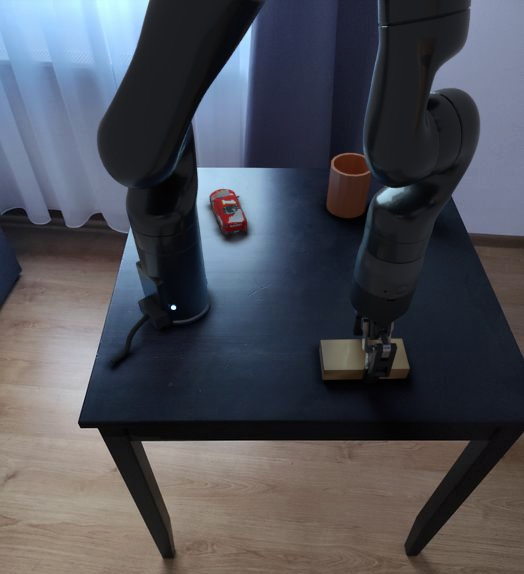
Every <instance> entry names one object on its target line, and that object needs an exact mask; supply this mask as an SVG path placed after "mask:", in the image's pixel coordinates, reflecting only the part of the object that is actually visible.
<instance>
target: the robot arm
mask: <svg viewBox="0 0 524 574" xmlns="http://www.w3.org/2000/svg"><path fill="white" fill-rule="evenodd" d="M266 2H267V0H148V3H147V7H146V10H145V14H144V18H143V22H142V26H141V29H140V34H139V37H138V40H137V43H136V46H135V50H134V52H133V55H132V57H131V59H130V62H129V65H128V67H127V69H126V72H125V74H124V76H123V77H122V80H121V82H120V83H119V86H118V88H117V90H116V92H115V94H114V96H113V97H112V100H111V102H110V104H109V105H108V107H107V108H106V111H105V113H104V114H103V115H102V117H101V119H100V121H99V123H98V126H97V131H96V148H97V153H98V156H99V158H100V161H101V163H102V166H103V168H104V169H105V171H106V172H107V173H108V175H109V176H110V177H111V178H112V179H113V180H114V181H115V182H117V183H118V184H119V185H121V186H123V187H125V188H127V192H126V196H125V211H126V215H127V220H128V222H129V225H130V230H131V233H132V236H133V241H134V244H135V245H134V246H135V248H136V252H137V256H138V259H139V260H137V261H135V267H136V270H137V274H138V278H139V281H140V285H141V288H142V292H143V295H144V297H143V298H140V299H139V300H138V301H137V304H138V307H139V311H140V312H141V313H142V315H143V316H142V317H141V318H140V319H139V320H138V321H137V322H136V324H134V326H133V327H132V328H131V329H130V331H129V333H128V335H127V337H126V340H125V346H124V347H123V349H122V351H120V353H119V354H117V355H115V356H114V357H113V358H111V360H110V362H111V364H113V365H115V364H116V363H118V362H119V361H120V360H122V359H124V358H125V357H126V356H127V354H128V353H129V351H131V347H132V343H133V339H134V337H135V335H136V333H137V332H138V331H139V329H140V328H141V327H142V326H143V325H144V324H145V323H146V322H147V321H149V322H150V323H151V325H152V326H153V327H154V328H155V329H156V330H157V331H158V330H161V329H162V328H164V327H165V328H166V329H169V328H171V327H173V326H185V325H189V324H192V323H195V322H197V321H198V320H201V318H203V317H204V316H205V315H206V314H207V312H208V311H209V309H210V306H211V299H210V293H209V289H208V288H209V287H208V279H207V273H206V266H205V258H204V257H205V256H204V250H203V241H202V234H201V227H200V226H201V225H200V219H199V212H198V193H199V173H198V161H197V151H196V141H195V131H194V126H193V125H194V124H193V119H194V117H195V115H196V112H197V110H198V108H199V106H200V104H201V102H202V101H203V99H204V97H205V95H206V93H207V92H208V91H209V89H210V87H211V86H212V85H213V83H214V82H215V80H216V79H217V77H218V76H219V75H220V73H221V72H222V70H223V69H224V67H225V66H226V64H227V63H228V62H229V60H230V59H231V57H232V56H233V55H234V53H235V51H236V50H237V48H238V47H239V45H240V44H241V43H242V41H243V39H244V37H245V36H246V35H247V33H248V31H249V29H251V27H252V25H253V23H254V22H255V20H256V18H257V17H258V15H259V14H260V12H261V10H262V8H263V7H264V6H265V3H266ZM470 7H472V0H377V24H378V27H377V29H378V30H377V31H378V48H377V53H376V58H375V63H374V66H373V72H372V77H371V82H370V87H369V94H368V98H367V104H366V108H365V114H364V120H363V127H362V153H363V155H364V157H365V161H366V164H367V166H368V168H369V170H370V172H371V174H372V175H373V176H372V178H374V179H375V180H376V181H377V183H379V184H381V185H382V186H383V187H382V188H380V189H379V190H378V191H377V192H376V193H375V194H374V195H373V196H372V198H371V201H370V203H369V206H368V208H367V212H366V213H367V214H366V218H365V224H364V229H363V234H362V239H361V242H360V244H359V247H358V251H357V253H356V259H355V265H354V270H353V275H352V280H351V285H350V290H349V302H350V304H351V306H352V308H354V316H355V320H354V323H353V328H352V333H353V336H356V337H362V339H363V340H362V349H363V350H364V351H365V352H366V363H365V367H364V370H363V374H362V379H361V381H362V383H364V384H377V383H378V382H379V380H380V379H379V377H389V375H390V372H391V369H392V365H393V362H394V359H395V355H396V352H397V344H396V343H391V339H392V332H393V330H394V323H395V321H397V320H398V319H400V318H401V317H403V316H404V315H405V314H407V312H408V310H409V309H410V308H411V304H412V302H413V298H414V294H415V292H416V289H417V286H418V283H419V280H420V277H421V274H422V271H423V268H424V264H425V256H426V251H427V249H428V246H429V242H430V240H431V238H432V237H431V236H432V233H433V230H434V227H435V223H436V220H437V218H438V217H439V215H440V213H441V212H442V210H443V209H444V208H445V206H446V205H447V204H448V202H449V200H450V199H451V197H452V195H453V194H454V192H455V190H456V189H457V188H458V186H459V184H460V183H461V180H463V177H464V176H465V174H466V172H467V170H468V169H469V167H470V165H471V163H472V161H473V159H474V157H475V154H476V151H477V148H478V145H479V140H480V136H481V117H480V111H479V108H478V105H477V103H476V101H475V100H474V98H473V97H472V96H471V95H470V94H469V93H468V92H466V91H464V90H463V89H460V88H457V87H445V88H440V89H436V90H432V87H433V84H434V80H435V78H436V75H437V73H438V71H439V70H440V68H442V66H443V65H445V64H446V63H447V62H449V61H450V60H451V59H453V58H455V57H456V56H457V55H458V54H459V53H461V51H462V50H463V49H464V47H465V45H466V43H467V40H468V36H469V32H470V31H469V30H470V24H471V23H470V21H471V8H470ZM368 339H369V340H379V343H375V345H368ZM372 353H373V354H372ZM371 355H372V358H371Z"/></svg>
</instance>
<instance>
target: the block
mask: <svg viewBox="0 0 524 574" xmlns="http://www.w3.org/2000/svg"><path fill="white" fill-rule="evenodd" d="M362 340H363V338H359V339H358V338H355V339H353V338H351V339H350V338H349V339H320V342H319V349H318V353H319V359H320V368H321V377H322V378H321V379H322V381H332V380H334V381H336V380H362V374H363V370H364V367H365V363H366V352H365V351H364V350H363V349H362ZM375 343H379V340H369V339H368V345H375ZM391 343H396V344H397V352H396V355H395V359H394V362H393V365H392V369H391V372H390V375H389V377H379V380H384V379H385V380H389V379H393V380H394V379H398V380H399V379H407V377H408V375H409V372H410V370H411V367H410V364H409V361H408V357H407V353H406V348H405V345H404V340H403V338H391ZM372 354H373V353H372ZM371 358H372V355H371Z"/></svg>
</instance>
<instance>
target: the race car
mask: <svg viewBox="0 0 524 574" xmlns="http://www.w3.org/2000/svg"><path fill="white" fill-rule="evenodd" d="M208 198H209V203H210V207H211V209H212V211H213V215H214V217H215V219H216V222H217V224H218V226H219V230H220V232H221V233H223V234H224V235H227V236H232V235H237V234H241V233H245V232H247V231H248V228H249V227H248V220H247V216H246V214H245V211H244V210H243V208H242V204H241V203H240V200H239V198H240V195H237V194H236V192H235V191H234V190H232V189H230V188H218V189H216V190H214V191H213V192H211V193H210V194H209V197H208Z"/></svg>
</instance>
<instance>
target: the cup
mask: <svg viewBox="0 0 524 574" xmlns="http://www.w3.org/2000/svg"><path fill="white" fill-rule="evenodd" d="M372 180H373V175H372V174H371V172H370V170H369V168H368V166H367V164H366V161H365V157H364V154H362V153H357V152H345V153H340V154H338V155H336V156H334V157H333V158H332V159H331V160H330V168H329V177H328V185H327V195H326V205H325V207H326V209H327V211H328V212H329V213H330V214H331V215H334V216H335V217H338V218H342V219H354V218H357V217H360V216H362V215H363V214H364V213H365V212H366V209H367V207H368V201H369V198H370V197H369V196H370V192H371V185H372Z"/></svg>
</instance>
